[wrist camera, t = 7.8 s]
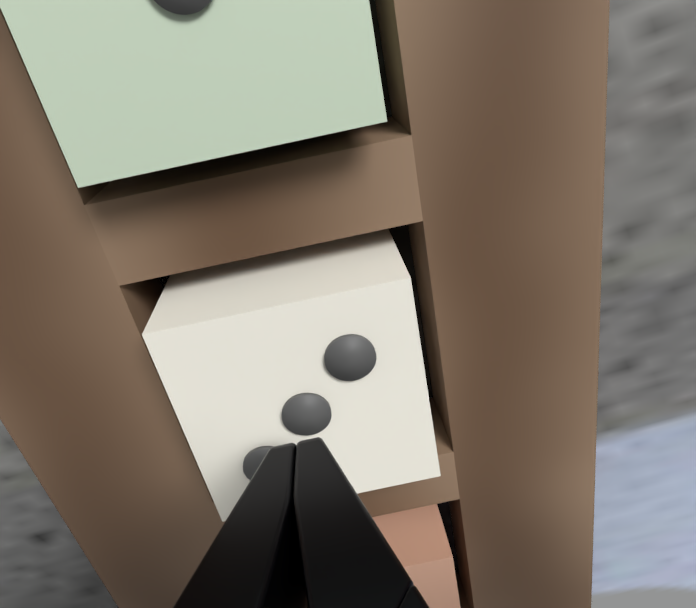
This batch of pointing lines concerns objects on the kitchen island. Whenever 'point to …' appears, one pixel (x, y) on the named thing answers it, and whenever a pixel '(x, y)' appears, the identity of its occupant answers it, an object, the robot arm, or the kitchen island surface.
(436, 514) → the salmon pink square block
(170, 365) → the button cream
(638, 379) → the kitchen island surface
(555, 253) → the button board
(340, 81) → the button sage
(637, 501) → the kitchen island surface
